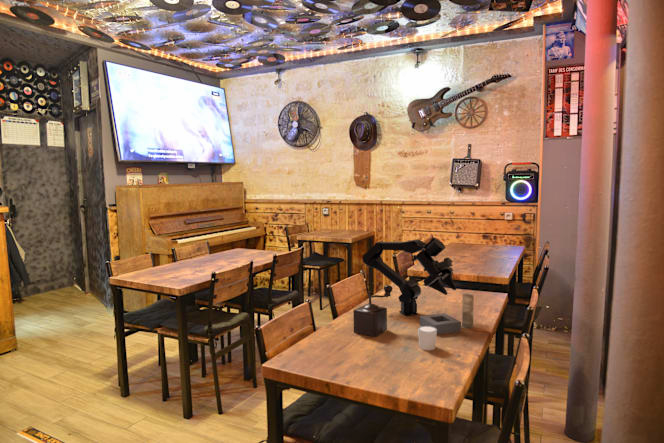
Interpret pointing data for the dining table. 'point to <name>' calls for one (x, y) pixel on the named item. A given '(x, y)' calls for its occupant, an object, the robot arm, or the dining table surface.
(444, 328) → the socket
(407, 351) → the dining table surface
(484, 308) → the dining table surface
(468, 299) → the peg
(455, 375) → the dining table surface
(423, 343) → the shot glass
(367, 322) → the pepper mill
